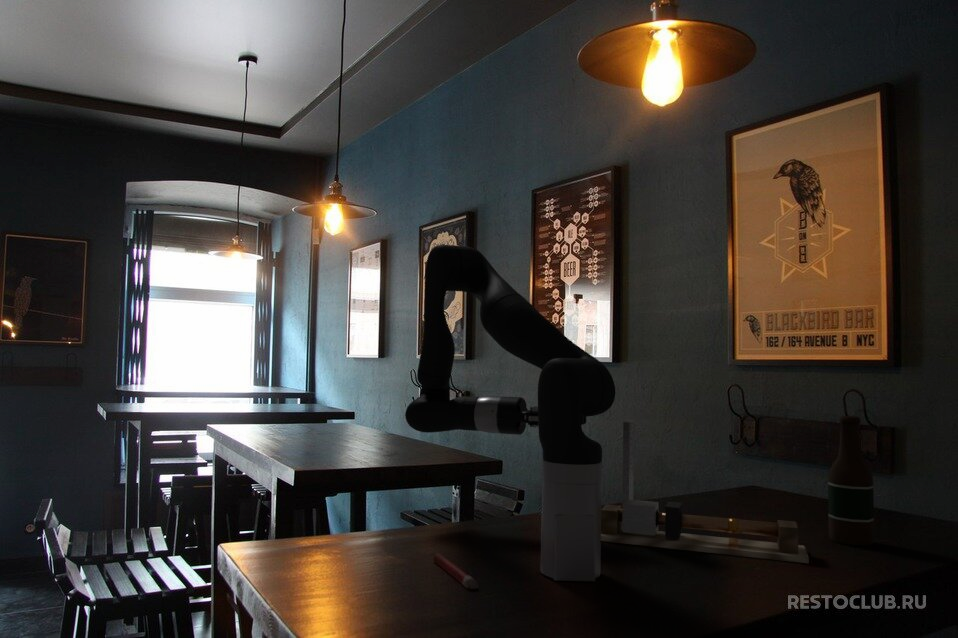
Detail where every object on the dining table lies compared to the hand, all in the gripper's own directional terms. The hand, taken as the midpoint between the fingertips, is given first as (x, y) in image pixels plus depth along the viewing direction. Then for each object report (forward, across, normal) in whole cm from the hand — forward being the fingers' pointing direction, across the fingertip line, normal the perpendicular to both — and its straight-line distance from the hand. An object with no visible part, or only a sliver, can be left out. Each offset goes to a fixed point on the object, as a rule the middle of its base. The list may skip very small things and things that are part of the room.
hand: (584, 419), depth 139 cm
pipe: (+21, 0, +19) cm, 28 cm away
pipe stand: (+21, 0, +22) cm, 30 cm away
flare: (-12, -36, +23) cm, 44 cm away
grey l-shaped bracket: (+11, 0, +20) cm, 23 cm away
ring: (+17, 0, +21) cm, 27 cm away
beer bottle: (+49, +17, +22) cm, 56 cm away
